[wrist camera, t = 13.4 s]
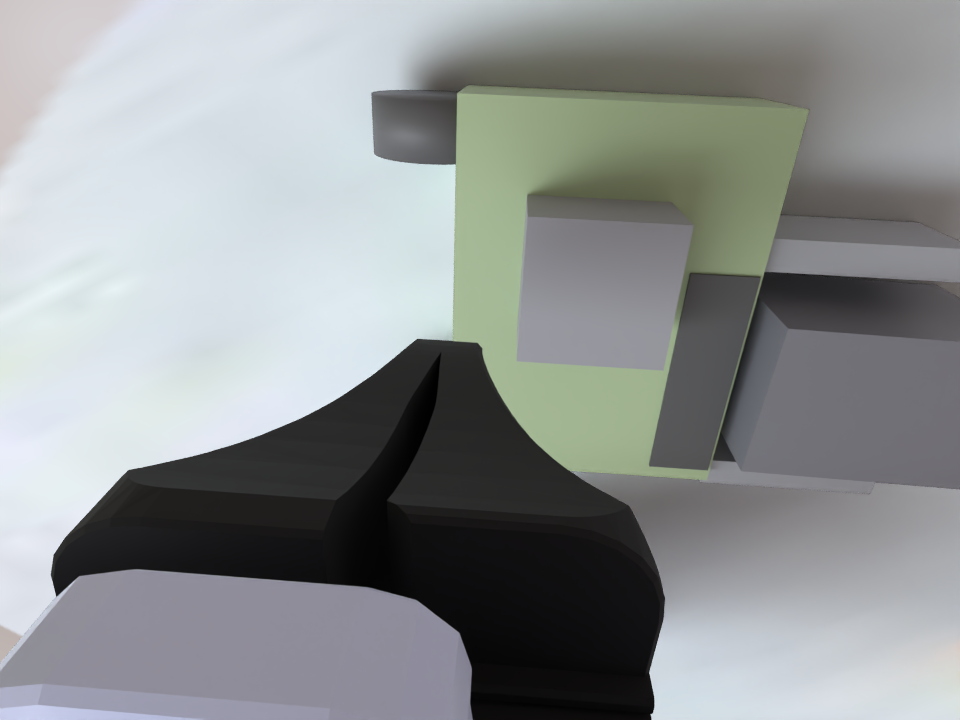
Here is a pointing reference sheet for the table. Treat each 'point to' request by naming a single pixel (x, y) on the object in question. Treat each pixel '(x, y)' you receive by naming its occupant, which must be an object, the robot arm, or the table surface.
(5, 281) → the table surface
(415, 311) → the table surface
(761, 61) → the table surface
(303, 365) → the table surface
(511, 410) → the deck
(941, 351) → the grey block
